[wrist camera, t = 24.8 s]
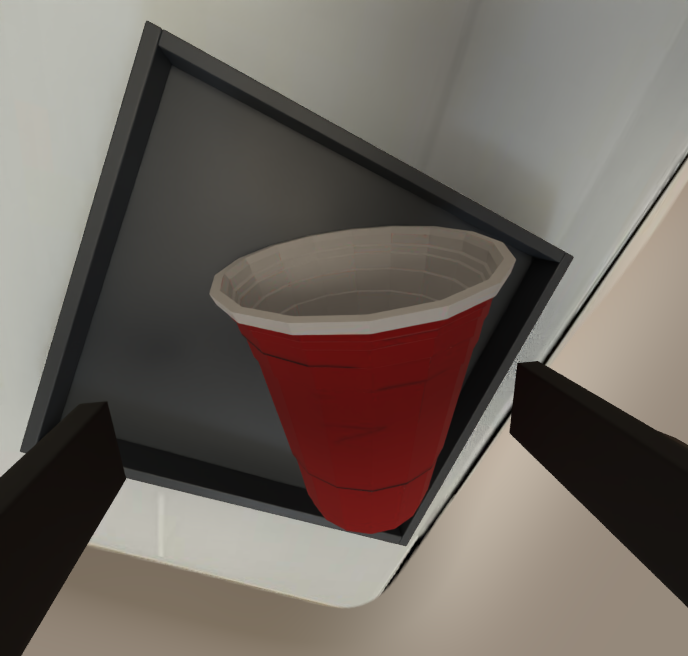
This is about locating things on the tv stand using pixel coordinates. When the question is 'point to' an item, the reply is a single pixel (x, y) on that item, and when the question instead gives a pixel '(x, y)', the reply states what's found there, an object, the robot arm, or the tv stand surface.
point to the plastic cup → (366, 354)
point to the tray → (220, 251)
